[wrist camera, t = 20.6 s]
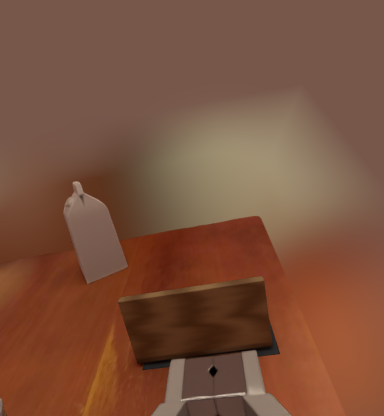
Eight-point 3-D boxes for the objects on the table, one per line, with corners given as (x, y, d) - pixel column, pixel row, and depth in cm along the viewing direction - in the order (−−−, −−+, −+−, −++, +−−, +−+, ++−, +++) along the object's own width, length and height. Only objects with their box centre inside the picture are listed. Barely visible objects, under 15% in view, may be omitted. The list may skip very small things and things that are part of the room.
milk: (128, 267, 81) (102, 179, 74) (87, 284, 77) (55, 192, 69) (117, 253, 92) (93, 175, 84) (80, 268, 87) (51, 186, 79)
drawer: (256, 295, 58) (248, 239, 54) (273, 349, 45) (263, 280, 41) (152, 311, 60) (137, 257, 56) (138, 366, 47) (117, 302, 43)
